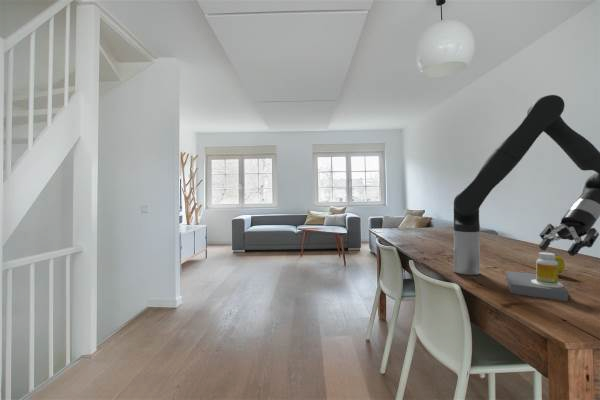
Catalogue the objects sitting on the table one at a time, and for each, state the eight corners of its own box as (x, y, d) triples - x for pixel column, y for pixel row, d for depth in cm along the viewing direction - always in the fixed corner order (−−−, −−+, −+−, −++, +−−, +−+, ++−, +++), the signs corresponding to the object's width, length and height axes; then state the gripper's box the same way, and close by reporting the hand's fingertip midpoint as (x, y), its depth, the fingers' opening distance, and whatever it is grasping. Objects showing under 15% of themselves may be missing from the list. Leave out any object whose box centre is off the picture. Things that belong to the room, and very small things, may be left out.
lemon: (568, 277, 110) (568, 256, 110) (551, 276, 111) (551, 256, 111) (558, 273, 115) (558, 253, 115) (542, 272, 116) (542, 253, 116)
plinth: (510, 293, 94) (510, 283, 94) (505, 278, 109) (505, 270, 109) (568, 301, 87) (568, 290, 87) (554, 284, 102) (554, 275, 102)
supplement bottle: (559, 286, 90) (560, 255, 90) (537, 283, 93) (537, 254, 93) (555, 282, 95) (556, 252, 94) (534, 279, 98) (535, 251, 97)
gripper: (552, 206, 103) (527, 240, 100) (602, 208, 89) (574, 247, 87) (564, 221, 104) (539, 254, 102) (614, 225, 90) (587, 264, 88)
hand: (555, 251), depth 94 cm, fingers open, 8 cm apart
